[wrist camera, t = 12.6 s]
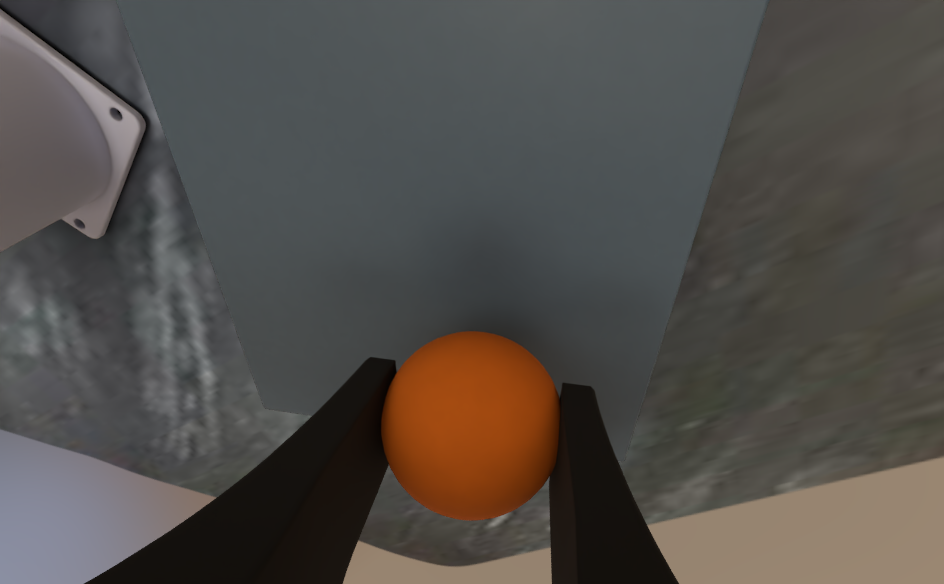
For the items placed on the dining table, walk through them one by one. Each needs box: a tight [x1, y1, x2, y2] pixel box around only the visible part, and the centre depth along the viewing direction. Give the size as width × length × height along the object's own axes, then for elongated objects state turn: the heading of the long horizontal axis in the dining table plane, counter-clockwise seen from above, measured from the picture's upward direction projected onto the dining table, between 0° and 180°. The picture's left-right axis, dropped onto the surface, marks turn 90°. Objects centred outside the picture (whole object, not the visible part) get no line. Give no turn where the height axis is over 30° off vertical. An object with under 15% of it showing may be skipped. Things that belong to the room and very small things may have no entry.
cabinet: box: [116, 0, 769, 462], centre depth 15 cm, size 14×12×8 cm
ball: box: [381, 331, 560, 520], centre depth 11 cm, size 4×4×4 cm
